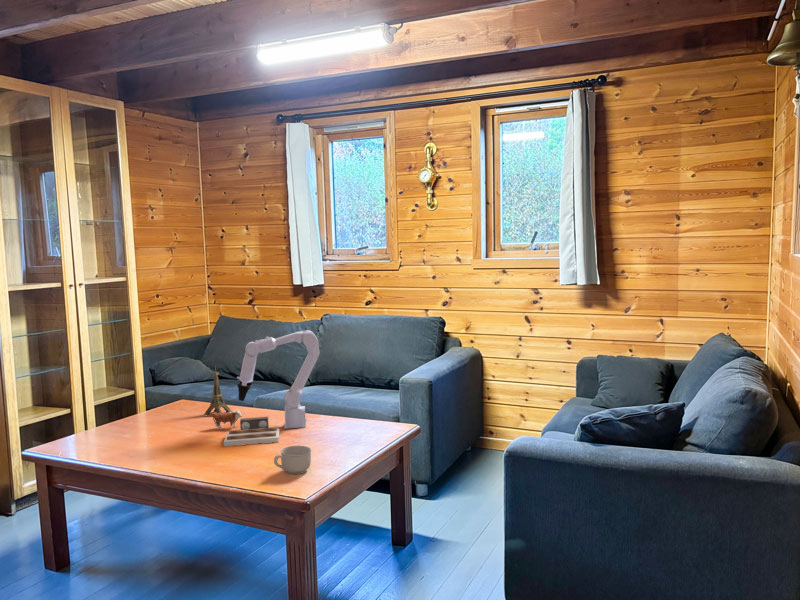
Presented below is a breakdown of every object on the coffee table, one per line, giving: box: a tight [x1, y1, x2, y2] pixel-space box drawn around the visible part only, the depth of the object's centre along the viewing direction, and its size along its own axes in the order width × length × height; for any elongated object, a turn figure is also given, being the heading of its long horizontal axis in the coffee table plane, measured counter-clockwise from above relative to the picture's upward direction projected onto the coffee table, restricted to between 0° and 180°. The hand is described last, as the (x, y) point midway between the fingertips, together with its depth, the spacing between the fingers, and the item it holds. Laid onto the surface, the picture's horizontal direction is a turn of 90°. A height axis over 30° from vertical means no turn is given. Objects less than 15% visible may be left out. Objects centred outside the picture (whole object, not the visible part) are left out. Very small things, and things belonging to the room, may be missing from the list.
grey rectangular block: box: [239, 416, 270, 430], centre depth 279 cm, size 12×3×6 cm, turn 99°
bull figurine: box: [212, 409, 243, 430], centre depth 284 cm, size 4×13×8 cm, turn 89°
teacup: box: [273, 445, 312, 475], centre depth 224 cm, size 14×11×8 cm
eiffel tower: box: [203, 364, 233, 417], centre depth 309 cm, size 11×11×25 cm
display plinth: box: [223, 426, 280, 447], centre depth 265 cm, size 22×14×3 cm, turn 99°
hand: (241, 398), depth 277 cm, fingers open, 7 cm apart
